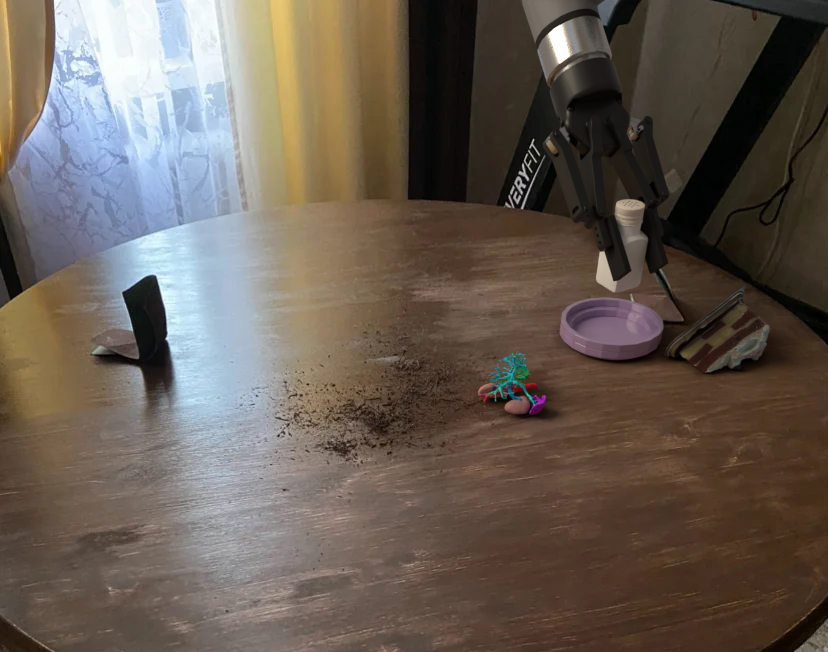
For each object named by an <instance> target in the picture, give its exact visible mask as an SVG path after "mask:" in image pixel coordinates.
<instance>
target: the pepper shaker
mask: <svg viewBox="0 0 828 652" xmlns="http://www.w3.org/2000/svg"><path fill="white" fill-rule="evenodd" d="M644 208H645V204H644V203H643V202H641V201H638V200H633V199H630V198H625V199H620V200H618V201H616V203H615V208H614V214H613V215H615V218H616V221H617V224H618V228H619V231H620V234H621V238H622V241H623V244H624V247H625V251H626V254H627V257H628V260H629V264H630V267H631V270H632V271H631V272H630V273H628V274H627V275H626V276H624V277H623V278H622V279H620V280H618V281H614V282H613V278H612V275H611V272H610V269H609V265H608V262H607V259H606V255H605V252H604V251H603V252H600V251H599V254H598V255H599V256H598V262H597V267H596V268H597V269H596V276H595V280H596V282H597V283H598V284H599V285H601V286H602V287H604V288H605V289H606V290H609V291H610V292H612V293H617V294H618V293H621V292H624V291H629V290H632V289H636V288H638V287H639V286H640V285H641V281H642V276H643V271H644V264H645V261H646V260H645V255H646V249H647V244H648V237H647V236H646V235H645V234H644V233H643V232H642V231H640V228H641V224H642V222H643V214H644Z"/></svg>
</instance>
